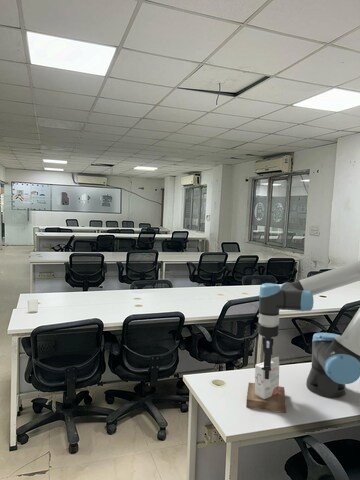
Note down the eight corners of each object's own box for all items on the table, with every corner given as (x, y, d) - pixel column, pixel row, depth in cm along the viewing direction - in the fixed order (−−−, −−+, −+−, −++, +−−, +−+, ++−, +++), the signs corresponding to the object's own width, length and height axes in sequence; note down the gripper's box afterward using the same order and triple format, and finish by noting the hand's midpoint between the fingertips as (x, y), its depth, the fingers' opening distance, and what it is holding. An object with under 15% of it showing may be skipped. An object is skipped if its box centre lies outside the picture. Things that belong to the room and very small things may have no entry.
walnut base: (284, 394, 140) (284, 386, 140) (285, 412, 127) (285, 404, 127) (248, 389, 144) (248, 382, 144) (246, 407, 130) (246, 399, 130)
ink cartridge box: (268, 388, 139) (270, 352, 138) (278, 393, 135) (280, 356, 134) (253, 394, 134) (255, 356, 133) (263, 399, 130) (265, 361, 129)
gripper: (259, 314, 146) (257, 364, 148) (257, 333, 122) (255, 392, 124) (278, 316, 145) (276, 366, 146) (279, 335, 120) (277, 395, 122)
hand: (266, 378), depth 135 cm, fingers open, 13 cm apart
